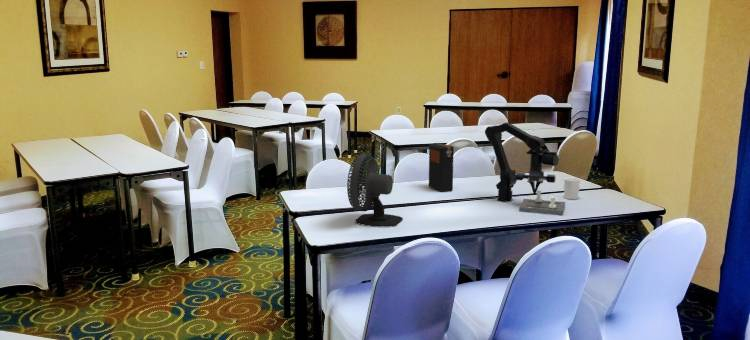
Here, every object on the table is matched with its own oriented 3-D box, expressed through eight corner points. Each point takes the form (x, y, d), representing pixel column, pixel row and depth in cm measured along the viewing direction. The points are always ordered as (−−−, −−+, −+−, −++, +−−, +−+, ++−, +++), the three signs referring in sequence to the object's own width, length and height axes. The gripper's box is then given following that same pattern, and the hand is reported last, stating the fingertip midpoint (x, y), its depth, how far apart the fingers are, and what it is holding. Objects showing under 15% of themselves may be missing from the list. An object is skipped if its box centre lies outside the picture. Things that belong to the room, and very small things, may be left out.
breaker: (548, 207, 286) (549, 197, 285) (549, 206, 289) (550, 195, 288) (555, 208, 285) (556, 198, 284) (555, 206, 288) (556, 196, 287)
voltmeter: (454, 191, 329) (455, 146, 324) (441, 192, 326) (441, 147, 321) (439, 185, 343) (440, 142, 338) (426, 186, 340) (427, 143, 335)
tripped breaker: (535, 201, 297) (535, 191, 296) (535, 199, 301) (536, 190, 300) (541, 202, 296) (541, 192, 295) (542, 200, 300) (542, 190, 299)
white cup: (579, 200, 310) (581, 181, 308) (563, 199, 311) (565, 180, 309) (577, 196, 317) (579, 178, 315) (562, 195, 319) (563, 177, 317)
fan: (379, 209, 292) (379, 149, 286) (411, 223, 270) (412, 157, 264) (332, 218, 278) (331, 154, 272) (362, 232, 256) (361, 163, 250)
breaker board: (519, 211, 289) (519, 207, 288) (523, 202, 305) (523, 198, 305) (562, 215, 282) (562, 210, 281) (564, 205, 298) (565, 201, 298)
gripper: (514, 165, 291) (513, 196, 294) (554, 167, 285) (552, 199, 288) (517, 161, 301) (516, 191, 305) (556, 163, 295) (554, 194, 298)
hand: (534, 194), depth 299 cm, fingers closed
